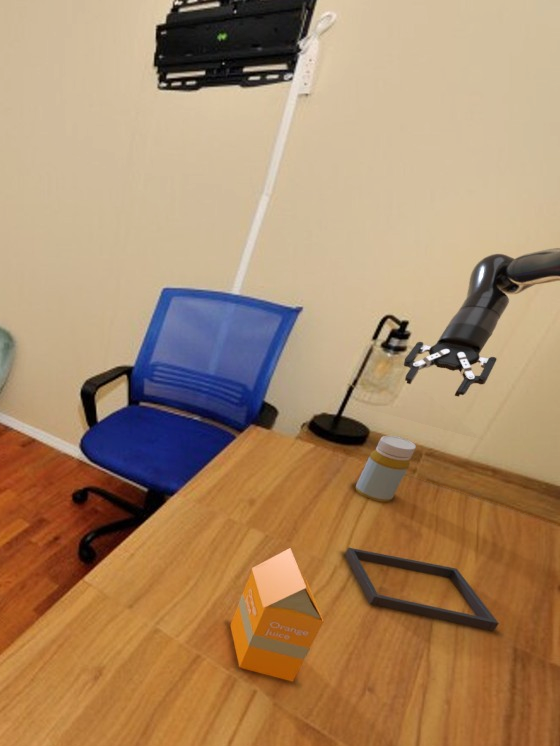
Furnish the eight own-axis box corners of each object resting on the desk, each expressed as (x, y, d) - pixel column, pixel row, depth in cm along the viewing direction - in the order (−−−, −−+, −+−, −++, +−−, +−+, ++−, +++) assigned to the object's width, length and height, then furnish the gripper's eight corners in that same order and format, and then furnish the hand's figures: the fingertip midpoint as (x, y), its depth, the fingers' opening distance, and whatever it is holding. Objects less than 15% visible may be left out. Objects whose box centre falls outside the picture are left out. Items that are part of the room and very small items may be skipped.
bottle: (363, 501, 121) (389, 448, 114) (348, 484, 127) (372, 433, 120) (397, 505, 119) (425, 451, 112) (381, 488, 125) (407, 436, 118)
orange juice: (278, 639, 88) (318, 553, 78) (292, 684, 80) (338, 595, 71) (228, 627, 90) (261, 541, 81) (237, 670, 83) (274, 581, 73)
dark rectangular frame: (450, 578, 99) (456, 568, 98) (491, 633, 88) (499, 623, 87) (343, 556, 105) (348, 547, 104) (368, 606, 94) (374, 596, 92)
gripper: (430, 315, 120) (394, 371, 120) (515, 330, 110) (477, 391, 110) (426, 332, 126) (392, 385, 125) (507, 347, 116) (471, 406, 115)
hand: (432, 388), depth 117 cm, fingers open, 8 cm apart
